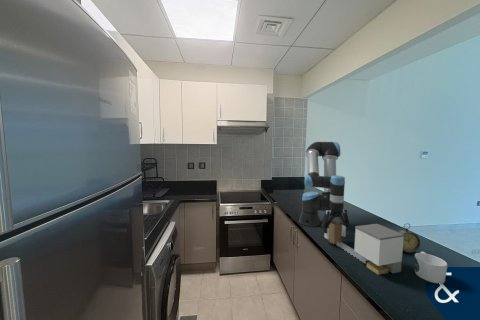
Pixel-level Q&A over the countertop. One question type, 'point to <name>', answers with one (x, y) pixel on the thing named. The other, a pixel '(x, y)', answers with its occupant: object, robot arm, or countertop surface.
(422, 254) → the mug
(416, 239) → the alarm clock
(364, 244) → the toe kick cabinet
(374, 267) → the yellow sponge
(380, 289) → the countertop surface
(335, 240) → the brown block grey strip
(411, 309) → the countertop surface
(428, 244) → the countertop surface
